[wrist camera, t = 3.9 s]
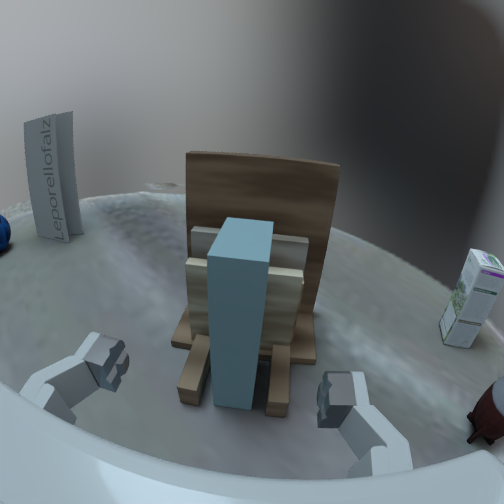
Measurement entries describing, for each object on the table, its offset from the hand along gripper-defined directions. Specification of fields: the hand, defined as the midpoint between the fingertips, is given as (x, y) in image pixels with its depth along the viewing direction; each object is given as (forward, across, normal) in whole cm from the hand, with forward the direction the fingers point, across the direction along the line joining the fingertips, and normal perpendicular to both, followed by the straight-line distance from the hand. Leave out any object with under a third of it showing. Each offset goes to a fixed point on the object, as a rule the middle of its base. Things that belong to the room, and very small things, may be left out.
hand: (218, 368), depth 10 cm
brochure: (+42, -52, -18) cm, 69 cm away
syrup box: (+22, +33, -18) cm, 44 cm away
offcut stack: (+20, -1, -17) cm, 26 cm away
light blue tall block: (+12, -1, -18) cm, 22 cm away
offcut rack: (+18, -1, -18) cm, 25 cm away
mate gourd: (+4, +30, -18) cm, 36 cm away
